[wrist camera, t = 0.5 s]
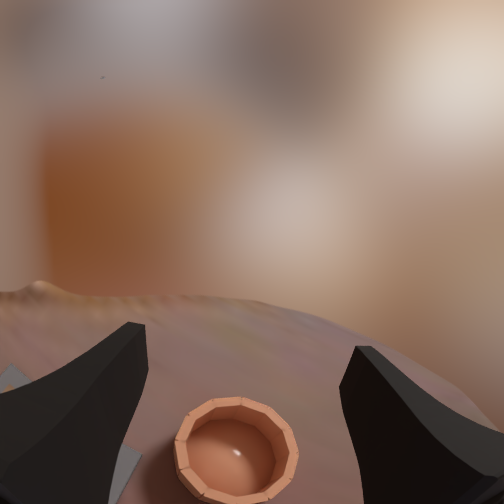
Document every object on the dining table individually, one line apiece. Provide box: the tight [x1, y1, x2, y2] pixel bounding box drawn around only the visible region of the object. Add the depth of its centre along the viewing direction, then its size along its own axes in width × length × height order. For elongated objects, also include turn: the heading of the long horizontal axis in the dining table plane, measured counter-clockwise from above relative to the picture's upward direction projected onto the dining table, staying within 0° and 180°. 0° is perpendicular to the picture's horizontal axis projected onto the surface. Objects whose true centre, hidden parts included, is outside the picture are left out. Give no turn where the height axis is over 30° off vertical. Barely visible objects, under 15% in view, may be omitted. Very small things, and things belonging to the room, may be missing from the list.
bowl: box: [173, 397, 299, 504], centre depth 21 cm, size 10×10×4 cm
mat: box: [0, 363, 142, 504], centre depth 14 cm, size 16×16×1 cm
